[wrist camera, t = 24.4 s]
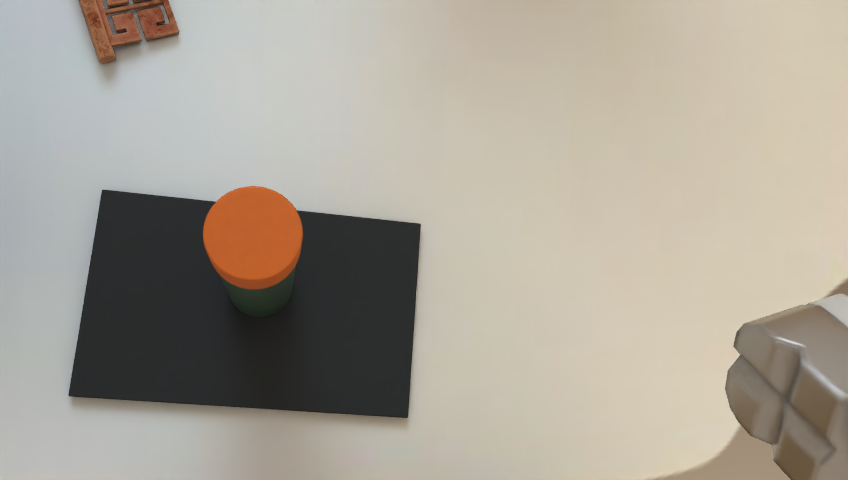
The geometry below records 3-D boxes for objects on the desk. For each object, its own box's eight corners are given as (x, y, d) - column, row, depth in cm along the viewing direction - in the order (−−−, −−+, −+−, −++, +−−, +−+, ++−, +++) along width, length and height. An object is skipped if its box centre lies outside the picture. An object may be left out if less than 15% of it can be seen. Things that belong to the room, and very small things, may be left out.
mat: (70, 396, 36) (68, 396, 35) (103, 191, 38) (102, 189, 38) (406, 417, 38) (408, 417, 38) (419, 225, 41) (420, 223, 40)
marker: (221, 316, 37) (196, 276, 26) (229, 248, 38) (209, 180, 27) (291, 321, 38) (298, 285, 26) (298, 255, 39) (307, 191, 27)
